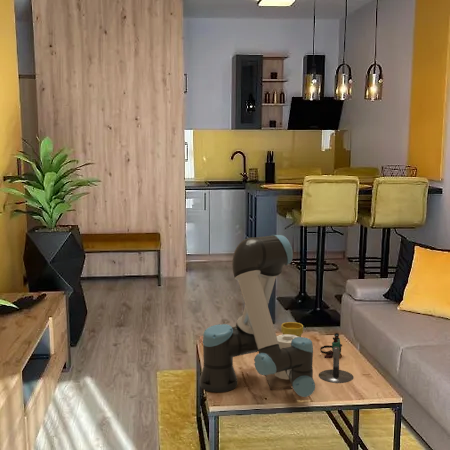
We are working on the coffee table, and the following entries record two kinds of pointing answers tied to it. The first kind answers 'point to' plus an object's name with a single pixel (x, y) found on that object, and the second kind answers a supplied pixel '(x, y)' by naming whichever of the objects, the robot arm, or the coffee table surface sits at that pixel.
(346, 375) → the disc
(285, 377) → the towel roll
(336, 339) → the binoculars
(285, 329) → the plant pot
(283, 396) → the coffee table surface
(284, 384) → the cutting board
